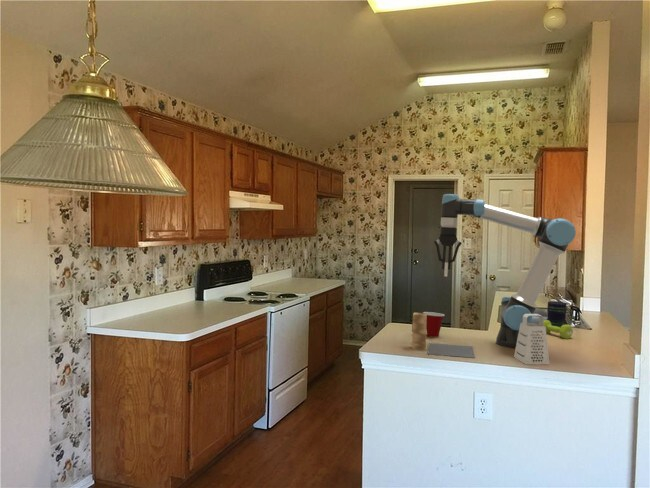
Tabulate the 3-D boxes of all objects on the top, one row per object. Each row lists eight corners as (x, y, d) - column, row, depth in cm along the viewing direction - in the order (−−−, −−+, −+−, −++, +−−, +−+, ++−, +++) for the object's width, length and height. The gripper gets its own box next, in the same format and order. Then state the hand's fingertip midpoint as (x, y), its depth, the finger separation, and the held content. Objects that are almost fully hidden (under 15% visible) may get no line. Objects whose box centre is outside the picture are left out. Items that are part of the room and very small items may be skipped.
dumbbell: (537, 333, 266) (537, 320, 265) (547, 332, 269) (547, 319, 269) (563, 340, 251) (564, 326, 251) (574, 338, 254) (574, 325, 254)
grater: (549, 364, 207) (551, 317, 206) (525, 364, 206) (527, 317, 205) (536, 357, 217) (538, 312, 216) (513, 357, 216) (515, 312, 215)
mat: (472, 346, 233) (472, 346, 233) (475, 358, 213) (475, 357, 213) (429, 343, 237) (429, 343, 237) (428, 354, 218) (428, 353, 218)
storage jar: (542, 327, 279) (543, 301, 278) (554, 326, 283) (555, 300, 282) (557, 331, 270) (558, 304, 269) (569, 330, 274) (570, 303, 273)
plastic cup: (448, 336, 252) (449, 313, 251) (433, 339, 246) (434, 315, 245) (432, 332, 261) (433, 310, 260) (418, 335, 255) (418, 312, 254)
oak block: (425, 347, 231) (426, 313, 230) (425, 350, 225) (426, 315, 224) (412, 345, 232) (413, 312, 231) (411, 349, 226) (412, 314, 226)
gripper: (462, 227, 235) (459, 276, 236) (434, 226, 238) (432, 274, 239) (463, 227, 227) (460, 278, 229) (434, 226, 231) (431, 276, 232)
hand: (445, 276), depth 234 cm, fingers closed
